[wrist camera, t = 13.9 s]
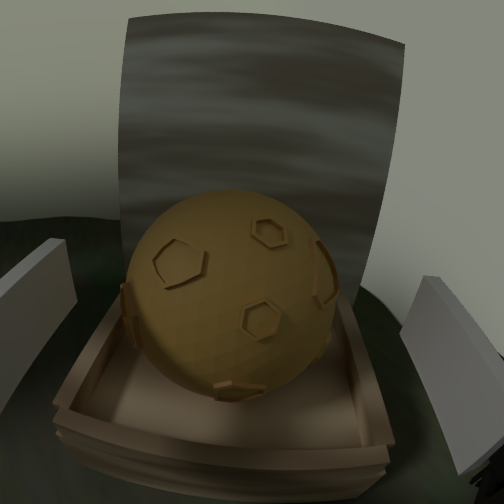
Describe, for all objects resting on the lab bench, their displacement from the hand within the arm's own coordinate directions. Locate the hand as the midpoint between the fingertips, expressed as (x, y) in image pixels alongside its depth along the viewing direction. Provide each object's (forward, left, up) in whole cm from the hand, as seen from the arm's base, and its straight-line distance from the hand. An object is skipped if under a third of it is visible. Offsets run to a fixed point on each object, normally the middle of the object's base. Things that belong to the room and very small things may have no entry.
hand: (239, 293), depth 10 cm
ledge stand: (-2, +3, -12) cm, 12 cm away
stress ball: (-2, +3, -8) cm, 9 cm away
